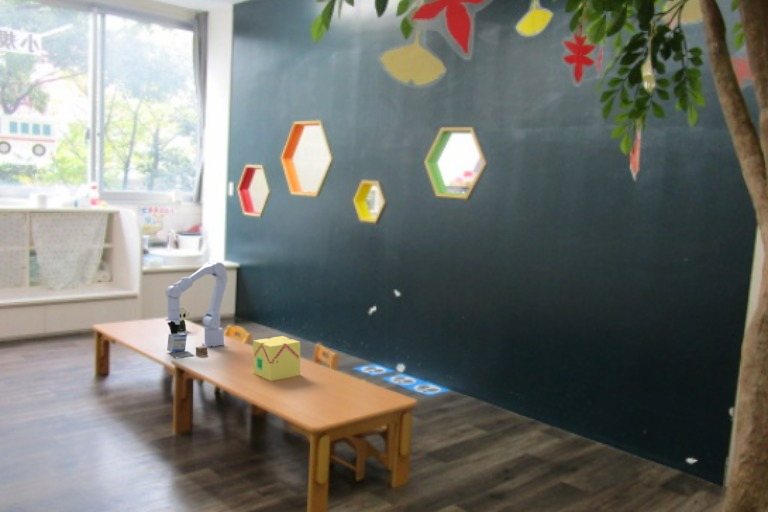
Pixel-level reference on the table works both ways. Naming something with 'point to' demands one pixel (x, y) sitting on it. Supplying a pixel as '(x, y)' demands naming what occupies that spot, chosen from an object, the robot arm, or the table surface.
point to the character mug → (182, 317)
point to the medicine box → (176, 342)
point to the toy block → (276, 358)
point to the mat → (181, 354)
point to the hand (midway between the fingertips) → (174, 336)
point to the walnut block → (201, 350)
